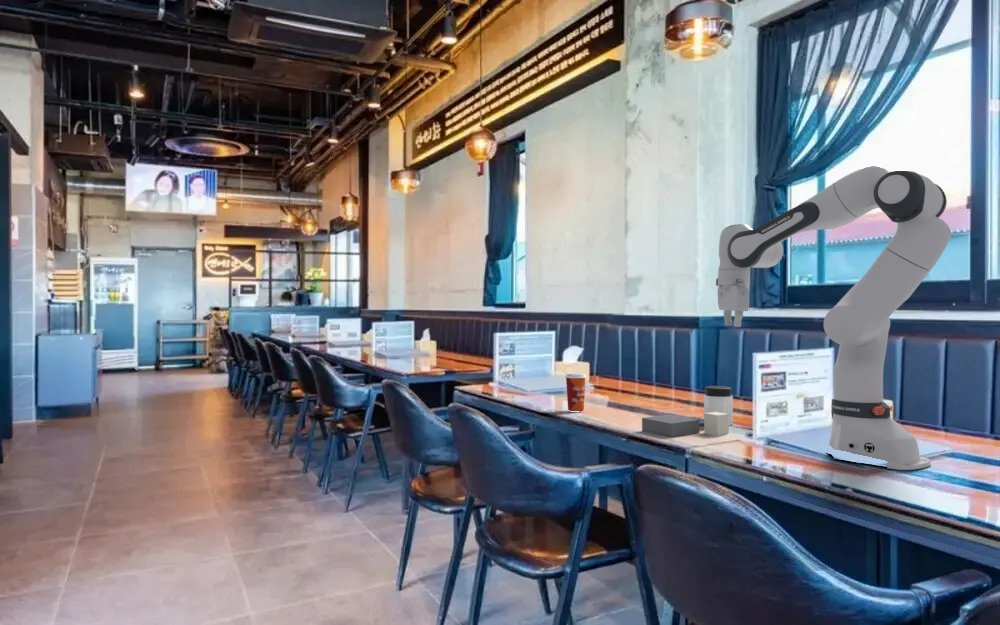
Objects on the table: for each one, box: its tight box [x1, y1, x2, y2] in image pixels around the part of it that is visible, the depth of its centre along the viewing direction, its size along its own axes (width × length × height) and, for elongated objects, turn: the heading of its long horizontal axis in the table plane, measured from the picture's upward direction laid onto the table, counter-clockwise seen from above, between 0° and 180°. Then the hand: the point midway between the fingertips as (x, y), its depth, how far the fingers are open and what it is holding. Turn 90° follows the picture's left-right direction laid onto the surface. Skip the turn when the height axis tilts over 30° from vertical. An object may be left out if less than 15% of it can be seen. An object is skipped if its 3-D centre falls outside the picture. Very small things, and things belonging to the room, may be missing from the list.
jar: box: [703, 385, 734, 426], centre depth 212 cm, size 9×8×12 cm
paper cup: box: [565, 372, 587, 412], centre depth 239 cm, size 8×8×14 cm
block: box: [703, 412, 730, 436], centre depth 196 cm, size 5×5×6 cm
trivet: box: [641, 413, 701, 438], centre depth 199 cm, size 12×12×4 cm
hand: (732, 326), depth 195 cm, fingers open, 8 cm apart
